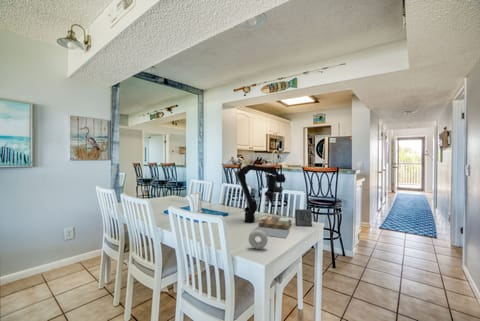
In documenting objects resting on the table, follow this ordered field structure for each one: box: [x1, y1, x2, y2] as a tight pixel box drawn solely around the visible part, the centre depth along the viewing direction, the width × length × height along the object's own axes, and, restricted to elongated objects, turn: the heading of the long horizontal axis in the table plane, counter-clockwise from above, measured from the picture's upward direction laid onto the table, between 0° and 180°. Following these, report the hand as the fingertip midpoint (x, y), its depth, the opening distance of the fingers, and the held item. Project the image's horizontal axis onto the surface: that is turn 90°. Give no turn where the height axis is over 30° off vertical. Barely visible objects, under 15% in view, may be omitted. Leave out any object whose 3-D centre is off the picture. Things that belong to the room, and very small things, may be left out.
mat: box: [252, 226, 290, 239], centre depth 145 cm, size 22×14×1 cm, turn 69°
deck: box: [258, 217, 292, 231], centre depth 159 cm, size 20×14×3 cm
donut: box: [248, 229, 269, 250], centre depth 120 cm, size 10×4×10 cm, turn 80°
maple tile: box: [261, 215, 274, 222], centre depth 162 cm, size 6×8×2 cm
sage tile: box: [278, 217, 291, 224], centre depth 158 cm, size 6×8×2 cm
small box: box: [294, 208, 313, 227], centre depth 161 cm, size 11×6×10 cm, turn 84°
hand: (271, 203), depth 174 cm, fingers closed
